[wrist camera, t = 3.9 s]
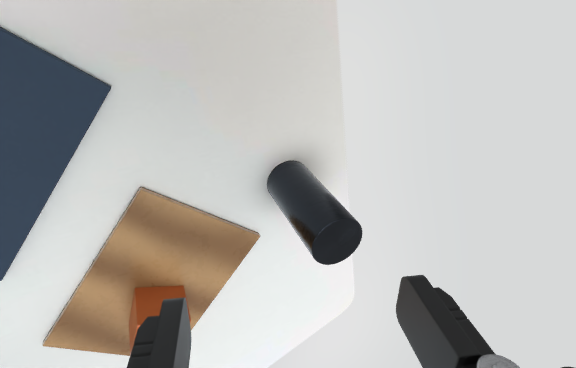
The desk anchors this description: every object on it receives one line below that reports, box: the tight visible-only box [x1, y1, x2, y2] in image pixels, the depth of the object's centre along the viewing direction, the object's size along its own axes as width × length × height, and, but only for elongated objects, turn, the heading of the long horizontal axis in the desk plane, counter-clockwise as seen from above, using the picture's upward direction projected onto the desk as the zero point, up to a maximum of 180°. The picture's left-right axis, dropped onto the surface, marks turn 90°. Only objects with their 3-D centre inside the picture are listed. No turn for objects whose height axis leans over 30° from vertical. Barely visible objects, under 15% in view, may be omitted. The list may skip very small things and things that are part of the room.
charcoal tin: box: [267, 161, 362, 265], centre depth 35 cm, size 5×5×11 cm
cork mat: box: [43, 187, 260, 356], centre depth 39 cm, size 20×14×1 cm
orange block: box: [129, 286, 191, 357], centre depth 38 cm, size 5×5×5 cm
